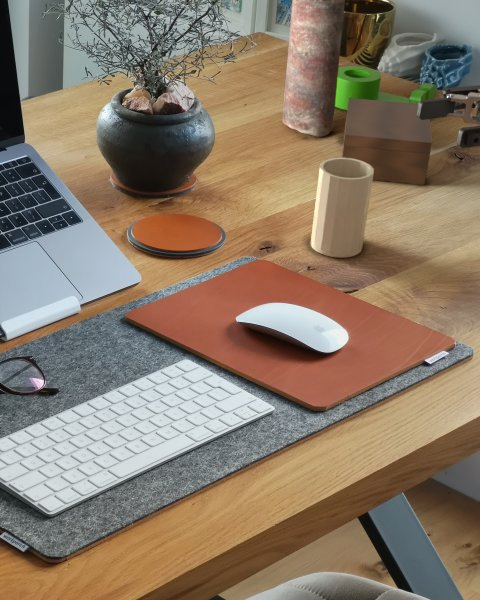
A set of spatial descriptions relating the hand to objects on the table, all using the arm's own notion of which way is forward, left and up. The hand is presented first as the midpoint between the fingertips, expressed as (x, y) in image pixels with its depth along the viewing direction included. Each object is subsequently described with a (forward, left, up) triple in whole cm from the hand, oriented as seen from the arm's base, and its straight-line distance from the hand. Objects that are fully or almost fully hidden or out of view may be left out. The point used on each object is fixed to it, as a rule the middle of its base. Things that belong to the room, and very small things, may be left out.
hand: (438, 124), depth 127 cm
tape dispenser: (+6, -41, -14) cm, 44 cm away
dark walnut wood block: (+5, -21, -14) cm, 26 cm away
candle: (+16, -30, -14) cm, 37 cm away
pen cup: (+10, +6, -14) cm, 18 cm away
